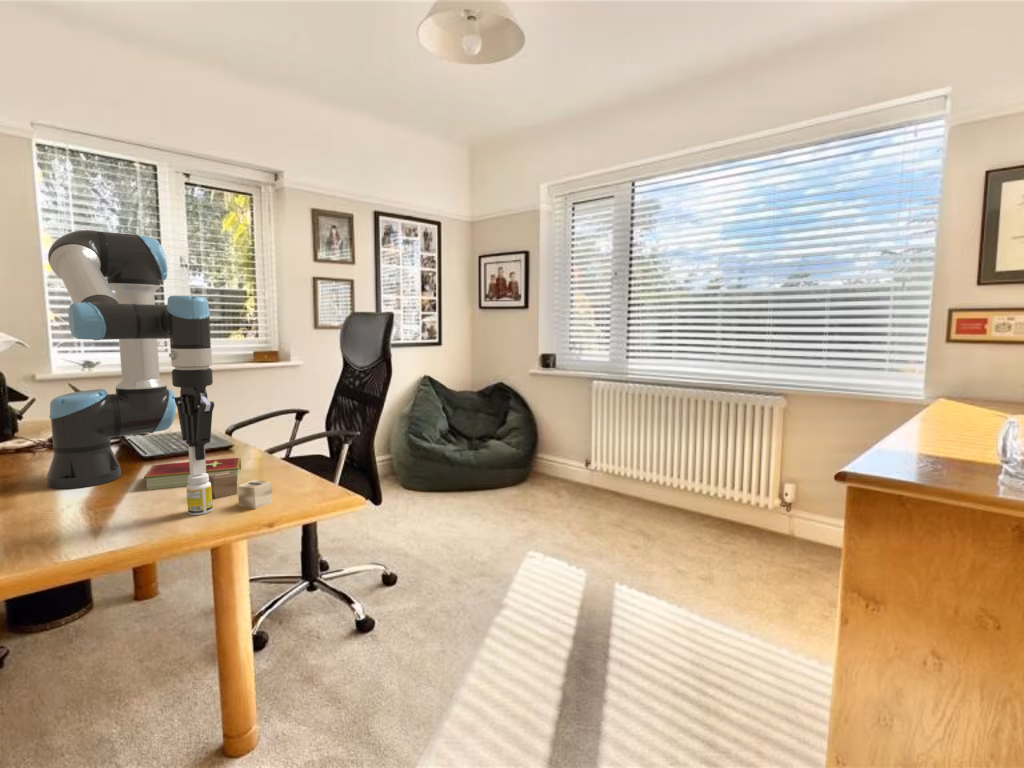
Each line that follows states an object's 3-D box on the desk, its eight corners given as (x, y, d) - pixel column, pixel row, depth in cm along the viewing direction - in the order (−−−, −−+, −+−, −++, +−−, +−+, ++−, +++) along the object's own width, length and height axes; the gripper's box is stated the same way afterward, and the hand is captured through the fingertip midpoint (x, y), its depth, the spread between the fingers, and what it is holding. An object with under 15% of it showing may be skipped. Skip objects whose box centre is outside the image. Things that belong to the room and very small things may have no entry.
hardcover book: (154, 478, 142) (153, 463, 142) (241, 470, 151) (240, 456, 150) (144, 492, 131) (143, 475, 131) (239, 482, 140) (238, 467, 140)
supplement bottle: (207, 506, 121) (205, 471, 120) (216, 511, 118) (214, 475, 117) (184, 512, 117) (182, 475, 116) (192, 517, 114) (190, 480, 113)
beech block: (238, 506, 122) (237, 485, 121) (256, 499, 126) (255, 479, 126) (255, 509, 120) (254, 487, 119) (272, 502, 125) (271, 481, 124)
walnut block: (208, 494, 130) (207, 474, 129) (230, 489, 133) (229, 470, 133) (215, 499, 126) (214, 478, 126) (237, 494, 130) (236, 474, 129)
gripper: (159, 366, 114) (166, 471, 117) (187, 371, 107) (194, 483, 110) (195, 364, 121) (201, 464, 123) (225, 368, 113) (230, 474, 116)
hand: (198, 473), depth 117 cm, fingers closed
